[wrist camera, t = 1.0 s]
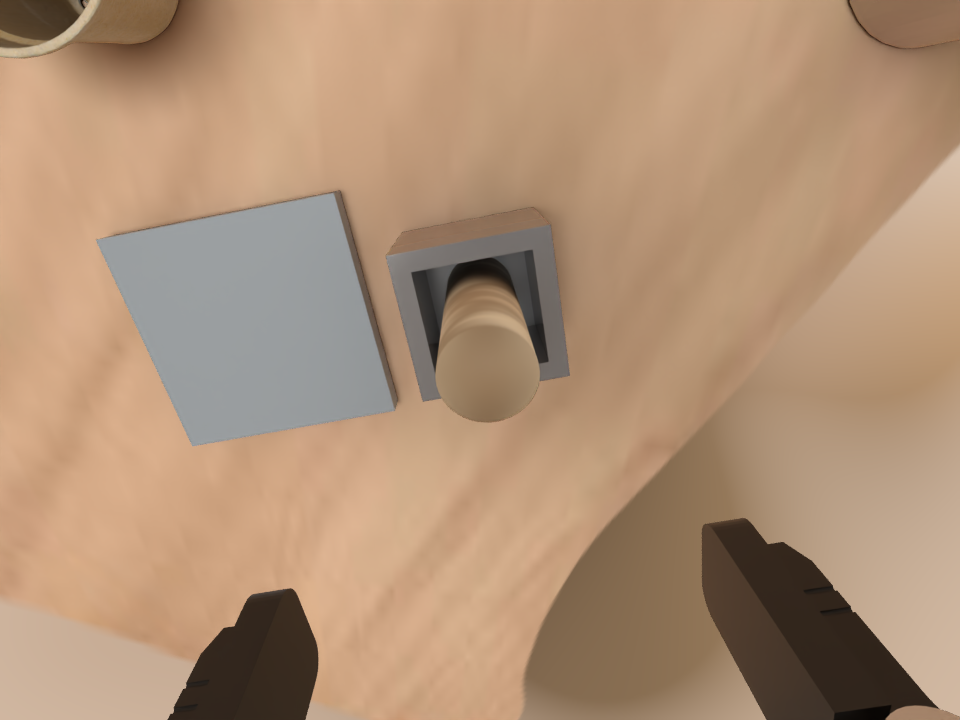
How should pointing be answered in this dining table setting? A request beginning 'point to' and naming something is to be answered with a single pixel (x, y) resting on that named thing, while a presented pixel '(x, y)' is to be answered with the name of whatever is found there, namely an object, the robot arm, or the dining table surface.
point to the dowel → (485, 345)
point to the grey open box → (438, 249)
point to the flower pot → (78, 23)
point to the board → (256, 318)
